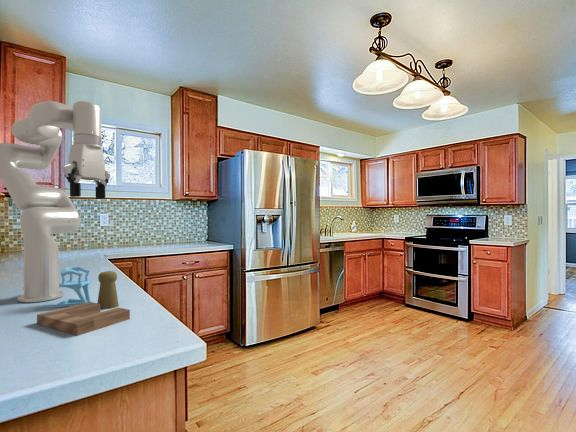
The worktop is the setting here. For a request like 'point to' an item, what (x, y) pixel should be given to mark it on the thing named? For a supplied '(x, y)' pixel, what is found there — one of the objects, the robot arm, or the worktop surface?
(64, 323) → the notched board
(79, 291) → the chair
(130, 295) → the worktop surface
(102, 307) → the cork
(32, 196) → the robot arm
